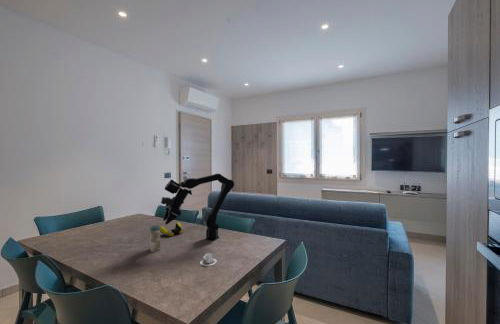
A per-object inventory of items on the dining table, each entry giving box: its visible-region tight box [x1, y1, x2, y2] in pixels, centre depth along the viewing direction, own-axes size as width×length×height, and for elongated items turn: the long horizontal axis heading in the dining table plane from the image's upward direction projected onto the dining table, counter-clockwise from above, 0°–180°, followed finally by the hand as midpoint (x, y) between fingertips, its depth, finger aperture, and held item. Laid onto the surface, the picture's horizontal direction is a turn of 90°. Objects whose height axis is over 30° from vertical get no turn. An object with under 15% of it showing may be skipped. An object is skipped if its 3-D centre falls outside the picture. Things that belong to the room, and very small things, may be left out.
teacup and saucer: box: [199, 252, 218, 267], centre depth 111 cm, size 9×8×4 cm
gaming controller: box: [159, 222, 184, 237], centre depth 153 cm, size 15×6×10 cm
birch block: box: [149, 225, 161, 253], centre depth 126 cm, size 4×4×12 cm
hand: (164, 222), depth 130 cm, fingers open, 9 cm apart
